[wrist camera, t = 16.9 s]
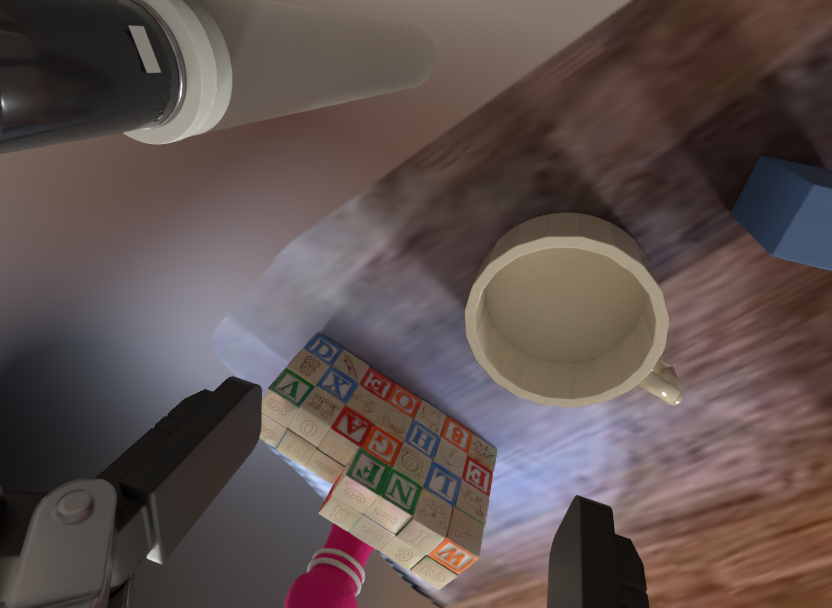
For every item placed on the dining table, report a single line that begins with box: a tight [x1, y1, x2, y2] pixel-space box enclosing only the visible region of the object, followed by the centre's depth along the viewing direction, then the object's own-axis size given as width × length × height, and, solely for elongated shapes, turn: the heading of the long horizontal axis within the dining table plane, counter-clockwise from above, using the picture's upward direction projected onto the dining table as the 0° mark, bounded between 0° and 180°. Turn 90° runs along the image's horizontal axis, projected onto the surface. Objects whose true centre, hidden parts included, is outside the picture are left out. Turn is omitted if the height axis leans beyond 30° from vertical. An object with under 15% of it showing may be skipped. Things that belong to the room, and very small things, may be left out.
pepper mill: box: [284, 523, 374, 608], centre depth 45 cm, size 7×7×20 cm
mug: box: [465, 213, 683, 407], centre depth 36 cm, size 17×14×6 cm
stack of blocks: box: [259, 333, 497, 589], centre depth 44 cm, size 21×6×12 cm, turn 61°
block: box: [730, 155, 832, 271], centre depth 28 cm, size 4×4×8 cm
